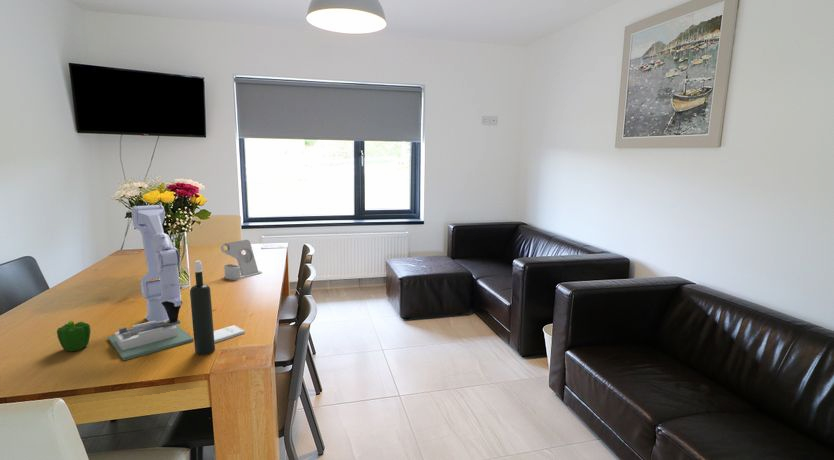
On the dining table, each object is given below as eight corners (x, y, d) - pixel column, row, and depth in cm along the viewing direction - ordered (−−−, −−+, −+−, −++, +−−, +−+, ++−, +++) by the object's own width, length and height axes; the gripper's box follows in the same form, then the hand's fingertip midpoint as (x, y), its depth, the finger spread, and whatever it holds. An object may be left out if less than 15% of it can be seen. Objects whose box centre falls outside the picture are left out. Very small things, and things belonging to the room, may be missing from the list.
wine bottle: (191, 352, 136) (183, 261, 131) (208, 346, 141) (201, 258, 136) (201, 357, 133) (193, 264, 128) (218, 350, 138) (211, 260, 133)
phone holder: (234, 280, 215) (231, 246, 212) (222, 277, 221) (219, 243, 218) (262, 273, 230) (261, 240, 227) (251, 270, 235) (249, 238, 232)
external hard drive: (199, 339, 147) (233, 328, 156) (209, 346, 142) (245, 334, 151) (198, 335, 147) (233, 324, 156) (209, 341, 142) (244, 330, 151)
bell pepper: (71, 343, 142) (67, 314, 140) (97, 342, 143) (93, 314, 141) (52, 354, 134) (47, 324, 132) (79, 354, 134) (75, 324, 133)
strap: (124, 336, 138) (124, 334, 137) (122, 333, 140) (121, 330, 140) (180, 323, 149) (180, 321, 149) (176, 320, 152) (176, 318, 152)
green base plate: (108, 339, 145) (106, 323, 144) (172, 323, 159) (171, 309, 159) (123, 360, 130) (121, 343, 129) (193, 341, 144) (191, 325, 143)
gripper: (151, 281, 149) (154, 318, 151) (163, 290, 139) (167, 329, 141) (173, 277, 154) (176, 313, 156) (186, 286, 144) (190, 324, 146)
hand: (173, 320), depth 149 cm, fingers closed, pressing on strap
